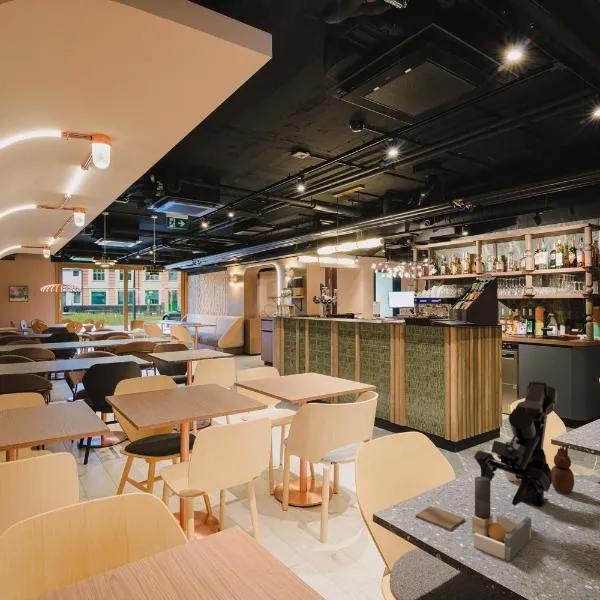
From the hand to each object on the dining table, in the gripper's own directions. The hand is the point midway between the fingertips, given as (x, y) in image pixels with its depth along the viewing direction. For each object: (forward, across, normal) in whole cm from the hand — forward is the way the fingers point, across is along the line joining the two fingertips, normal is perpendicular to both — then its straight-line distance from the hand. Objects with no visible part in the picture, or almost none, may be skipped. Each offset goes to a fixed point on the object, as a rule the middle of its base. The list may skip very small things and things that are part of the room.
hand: (496, 497), depth 113 cm
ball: (+8, +4, 0) cm, 9 cm away
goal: (+9, +5, +2) cm, 11 cm away
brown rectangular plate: (+11, -10, 0) cm, 16 cm away
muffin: (-18, -17, +30) cm, 38 cm away
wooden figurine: (-21, -3, +33) cm, 39 cm away
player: (+10, 0, +1) cm, 10 cm away
